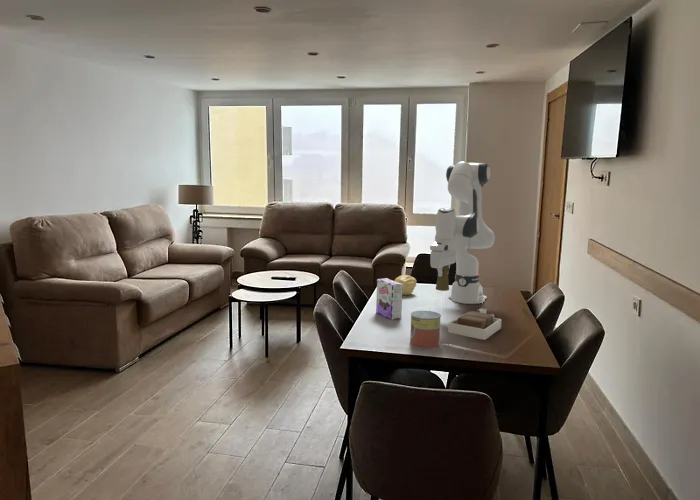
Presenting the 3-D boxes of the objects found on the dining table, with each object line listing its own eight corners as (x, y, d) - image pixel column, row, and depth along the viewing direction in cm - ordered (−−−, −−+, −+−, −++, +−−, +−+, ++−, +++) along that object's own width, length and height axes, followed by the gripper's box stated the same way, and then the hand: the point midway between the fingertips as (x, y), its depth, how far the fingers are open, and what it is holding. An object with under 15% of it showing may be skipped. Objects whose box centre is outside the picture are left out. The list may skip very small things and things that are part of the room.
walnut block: (469, 324, 219) (470, 310, 218) (492, 328, 213) (493, 314, 212) (457, 332, 207) (457, 317, 206) (480, 336, 202) (481, 322, 201)
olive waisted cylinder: (451, 289, 225) (452, 265, 224) (444, 291, 221) (445, 266, 219) (440, 287, 230) (441, 263, 228) (432, 289, 225) (433, 265, 224)
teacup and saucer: (496, 318, 234) (496, 310, 233) (487, 321, 229) (487, 312, 228) (480, 314, 240) (480, 306, 240) (470, 317, 235) (471, 308, 234)
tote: (465, 323, 223) (466, 312, 222) (500, 330, 214) (501, 319, 213) (447, 334, 207) (448, 322, 206) (484, 342, 198) (485, 330, 197)
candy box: (375, 312, 238) (376, 278, 235) (386, 311, 240) (387, 277, 238) (390, 320, 226) (392, 284, 223) (401, 318, 228) (403, 283, 226)
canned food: (407, 339, 199) (408, 310, 197) (435, 339, 200) (436, 310, 198) (412, 349, 188) (414, 318, 186) (442, 349, 189) (444, 318, 187)
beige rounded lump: (405, 297, 269) (405, 277, 267) (388, 293, 278) (389, 274, 276) (418, 294, 277) (419, 275, 275) (402, 290, 285) (403, 272, 284)
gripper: (447, 241, 233) (446, 270, 235) (428, 246, 216) (426, 277, 218) (460, 243, 229) (458, 272, 231) (441, 247, 212) (440, 279, 215)
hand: (443, 275), depth 224 cm, fingers closed on olive waisted cylinder, 4 cm apart
